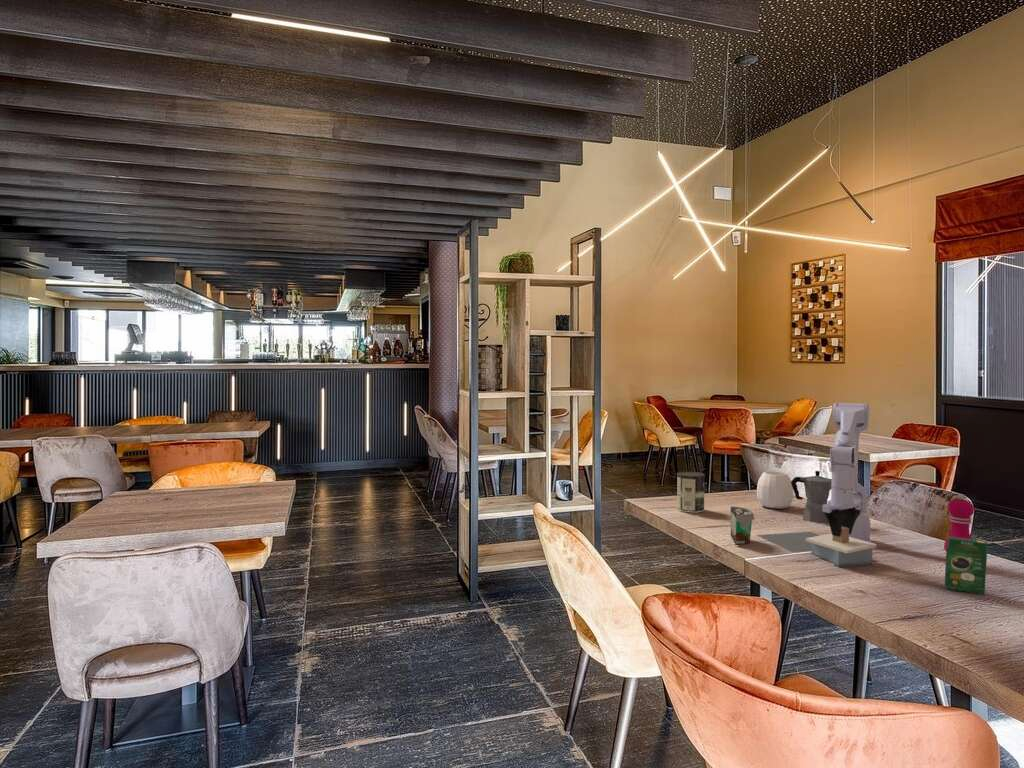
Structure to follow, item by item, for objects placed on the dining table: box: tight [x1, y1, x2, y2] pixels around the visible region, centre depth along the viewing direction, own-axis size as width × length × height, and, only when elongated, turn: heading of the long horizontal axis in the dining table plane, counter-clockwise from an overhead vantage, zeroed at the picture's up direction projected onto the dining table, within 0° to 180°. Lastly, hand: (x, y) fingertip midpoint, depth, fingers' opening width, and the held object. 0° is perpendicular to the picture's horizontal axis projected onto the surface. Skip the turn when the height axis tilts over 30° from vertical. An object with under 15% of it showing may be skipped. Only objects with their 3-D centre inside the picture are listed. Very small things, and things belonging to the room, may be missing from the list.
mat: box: [756, 531, 820, 553], centre depth 193 cm, size 20×18×1 cm
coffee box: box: [944, 535, 988, 595], centre depth 152 cm, size 8×3×13 cm, turn 61°
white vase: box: [756, 470, 794, 510], centre depth 240 cm, size 13×13×14 cm
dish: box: [810, 543, 874, 568], centre depth 176 cm, size 11×11×4 cm
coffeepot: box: [791, 470, 832, 524], centre depth 220 cm, size 15×9×18 cm, turn 79°
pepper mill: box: [943, 493, 975, 553], centre depth 172 cm, size 7×7×20 cm
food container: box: [730, 506, 755, 546], centre depth 193 cm, size 12×6×10 cm, turn 168°
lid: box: [806, 526, 878, 553], centre depth 176 cm, size 13×13×5 cm
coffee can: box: [676, 471, 706, 514], centre depth 235 cm, size 10×10×14 cm
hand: (841, 534), depth 176 cm, fingers open, 4 cm apart
